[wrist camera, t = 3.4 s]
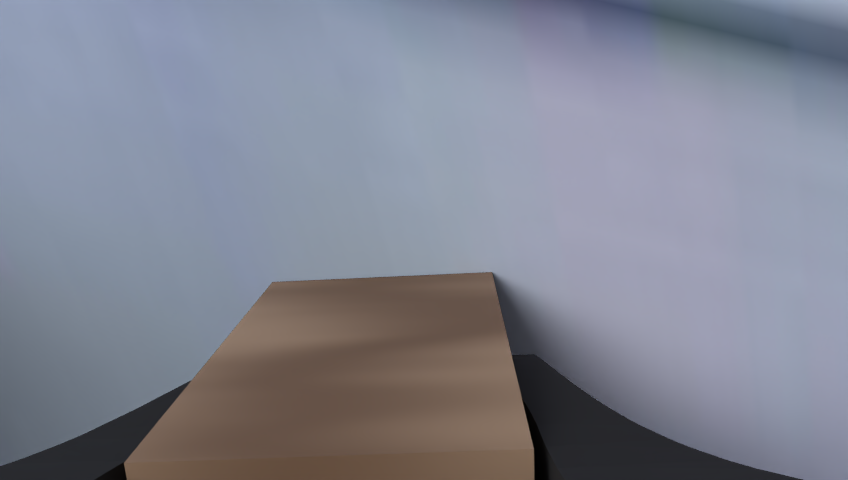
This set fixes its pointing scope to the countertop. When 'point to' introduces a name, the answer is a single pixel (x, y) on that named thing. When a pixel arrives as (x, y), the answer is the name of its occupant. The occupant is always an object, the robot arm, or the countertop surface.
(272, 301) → the walnut plug
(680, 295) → the countertop surface
